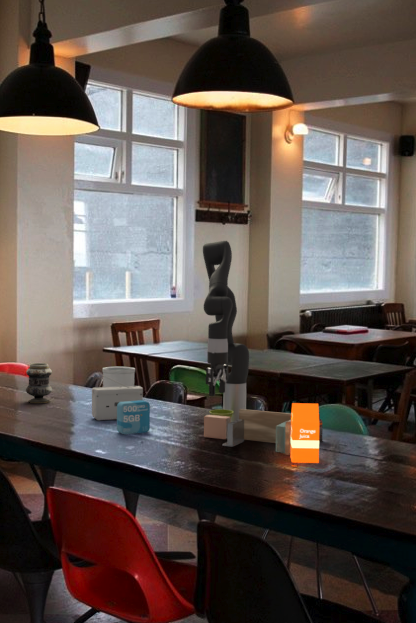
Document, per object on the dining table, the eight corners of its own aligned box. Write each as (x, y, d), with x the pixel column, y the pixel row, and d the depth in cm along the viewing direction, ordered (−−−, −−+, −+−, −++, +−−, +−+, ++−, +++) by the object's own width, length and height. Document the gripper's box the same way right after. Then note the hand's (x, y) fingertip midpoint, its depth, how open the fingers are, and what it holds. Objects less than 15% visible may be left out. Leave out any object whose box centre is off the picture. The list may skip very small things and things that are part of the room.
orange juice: (290, 460, 281) (291, 401, 280) (316, 461, 281) (317, 401, 280) (291, 466, 273) (292, 405, 272) (319, 466, 273) (320, 405, 272)
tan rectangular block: (208, 438, 316) (208, 414, 316) (230, 440, 312) (230, 416, 312) (203, 440, 312) (204, 416, 312) (225, 442, 309) (226, 418, 308)
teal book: (286, 446, 298) (286, 421, 297) (295, 447, 296) (295, 422, 295) (275, 451, 289) (275, 425, 288) (285, 453, 287) (285, 426, 287)
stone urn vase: (49, 404, 389) (49, 365, 388) (23, 403, 389) (23, 365, 388) (54, 399, 401) (54, 362, 400) (29, 399, 401) (28, 362, 400)
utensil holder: (117, 402, 396) (117, 365, 395) (141, 405, 387) (141, 367, 386) (95, 406, 384) (95, 368, 383) (120, 410, 375) (120, 371, 374)
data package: (121, 434, 321) (121, 403, 320) (116, 432, 325) (116, 402, 324) (149, 432, 327) (150, 401, 326) (145, 430, 331) (145, 399, 330)
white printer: (139, 415, 362) (139, 369, 361) (144, 419, 354) (144, 371, 353) (91, 418, 356) (91, 371, 354) (95, 421, 348) (95, 373, 347)
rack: (240, 441, 310) (240, 408, 310) (304, 448, 299) (304, 414, 299) (221, 450, 296) (221, 415, 295) (288, 457, 285) (288, 422, 284)
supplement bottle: (323, 443, 309) (324, 412, 308) (320, 446, 303) (321, 415, 303) (307, 442, 311) (308, 411, 310) (304, 445, 305) (304, 414, 305)
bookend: (233, 440, 306) (234, 418, 306) (244, 441, 305) (244, 419, 304) (222, 445, 298) (222, 423, 297) (232, 446, 296) (232, 424, 295)
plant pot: (238, 433, 325) (238, 411, 325) (222, 437, 318) (222, 414, 318) (220, 430, 331) (220, 408, 331) (204, 433, 325) (204, 411, 324)
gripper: (216, 348, 318) (216, 391, 319) (199, 351, 306) (199, 396, 307) (234, 349, 315) (234, 392, 316) (218, 352, 302) (217, 397, 303)
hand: (217, 394), depth 311 cm, fingers open, 8 cm apart
